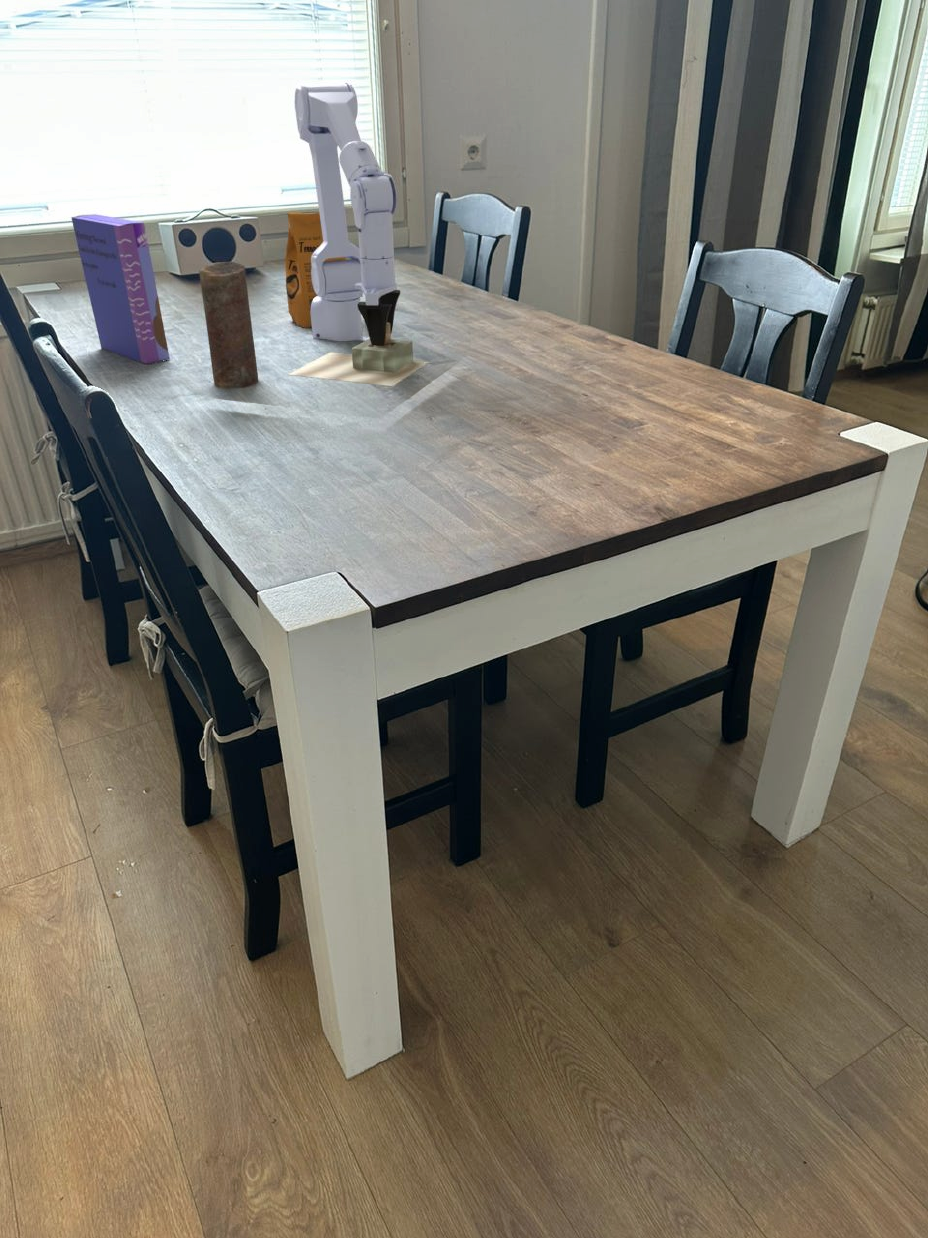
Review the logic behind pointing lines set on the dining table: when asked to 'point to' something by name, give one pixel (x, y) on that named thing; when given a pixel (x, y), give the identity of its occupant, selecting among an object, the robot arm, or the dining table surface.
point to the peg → (387, 337)
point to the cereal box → (121, 287)
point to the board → (352, 375)
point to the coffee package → (302, 264)
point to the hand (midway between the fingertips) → (381, 339)
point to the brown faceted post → (229, 325)
